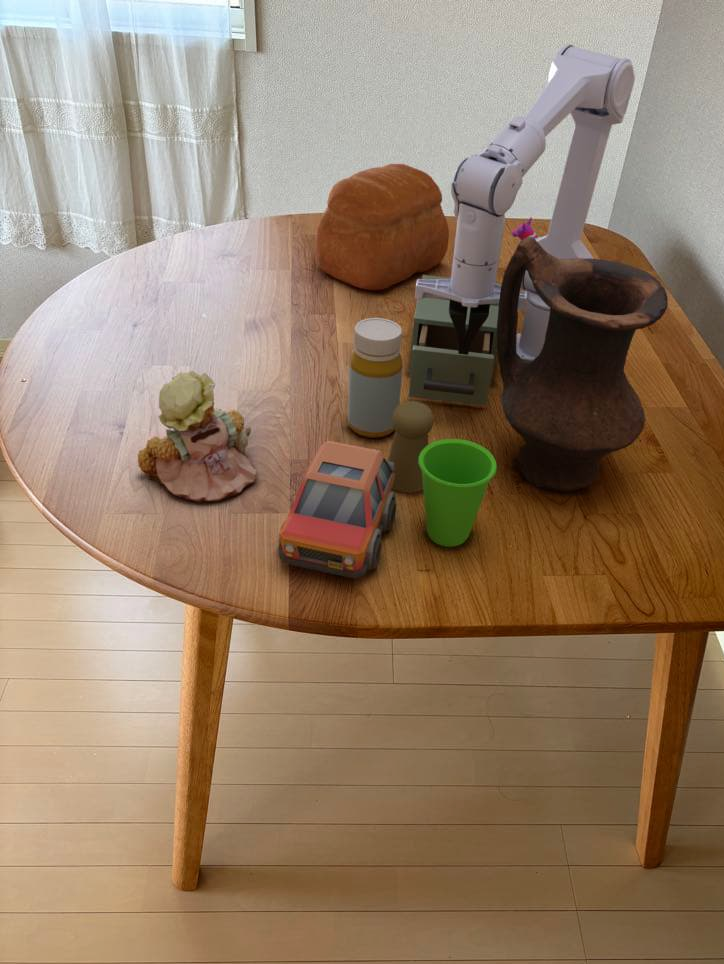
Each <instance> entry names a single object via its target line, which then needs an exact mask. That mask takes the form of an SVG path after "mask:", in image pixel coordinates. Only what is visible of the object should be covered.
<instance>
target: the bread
mask: <svg viewBox="0 0 724 964" xmlns="http://www.w3.org/2000/svg"><path fill="white" fill-rule="evenodd" d="M442 202H443V194H442V191H441V189H440V186H439V185H438V184H437V183H436V182H435V180H434V179H433V177H432V176H430V174H428V173H427V172H425V171H423V170H421V169H418V168H415V167H413V166H410V165H407V164H404V163H390V164H389V163H388V164H385V165H384V166H383V165H382V166H377V167H371V168H367V169H365V170H361V171H358V172H356V173H354V174H352V175H350V176H349V177H347V178H344V179H341V180H339V181H337V182H336V183H335V184H333V186H332V188H331V189H330V191H329V193H328V197H327V201H326V204H327V207H326V209H325V210H324V212H323V213H322V215H321V217H320V219H319V221H318V222H317V226H316V231H315V238H314V242H315V256H316V259H317V263H318V266H319V268H320V269H321V270H322V271H323V272H324V273H326V274H328V275H329V276H331V277H333V278H334V279H337V280H339V281H341V282H343V283H346V284H348V285H350V286H353V287H356V288H358V289H363V290H368V291H382V290H385V289H387V288H389V287H391V286H393V285H396V284H398V283H400V282H403V281H406V280H408V279H409V278H411V277H412V276H413V275H414V274H416V273H417V274H418V273H424V272H427V271H429V270H430V269H432V268H434V267H435V266H437V265H438V264H440V263H441V262H442V261H443V260H444V258H445V256H446V254H447V251H448V247H449V237H450V228H449V224H448V220H447V218H446V215H445V214H444V211H443V208H442V205H441V203H442Z"/></svg>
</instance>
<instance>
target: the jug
mask: <svg viewBox="0 0 724 964" xmlns="http://www.w3.org/2000/svg"><path fill="white" fill-rule="evenodd" d="M525 270H527V271H528V274H529V277H530V279H531V280H532V283H533V286H534V288H535V290H536V292H537V293H538V295H539V297H540V298H541V299H542V300H543V301H544V302H545V303H546V304H547V306H548V307H550V315H549V321H548V326H547V330H546V334H545V342H544V345H543V348H542V350H541V352H540V354H539V355H538V356H537V357H536V358H535V359H534V360H533V361H527V360H522V359H521V358H520V356H519V355H518V354H517V353H516V336H517V328H518V321H519V320H518V319H519V311H517V309H518V301H519V295H520V291H521V289H522V288H521V284H522V279H523V275H524V271H525ZM501 284H502V285H501V291H500V299H499V309H498V319H497V351H496V358H497V362H498V368H499V373H500V377H501V382H502V392H501V406H502V411H503V415H504V417H505V419H506V421H507V422H508V424H509V425H510V427H511V428H512V430H514V431H515V432H516V433H517V435H519V436H520V437H521V439H522V440H523V441H524V442H525V443H524V444H523V445H522V446H521V448H520V449H519V452H518V454H517V466H518V468H519V470H520V471H521V472H522V474H524V476H525V477H524V478H526V480H528V481H529V482H530V483H532V484H534V485H535V486H537V487H538V488H539V487H540V488H542V489H544V490H545V489H546V490H549V491H552V492H553V491H554V492H563V493H564V492H565V493H566V492H567V493H568V492H573V491H580V490H583V489H586V488H588V487H589V486H590V485H591V484H592V483H594V482H595V481H596V479H597V478H598V475H599V474H600V467H601V466H600V462H599V461H600V460H601V459H602V458H604V457H607V455H609V454H612V453H614V452H617V451H619V450H622V449H623V450H624V449H626V448H627V447H629V446H631V445H632V444H633V443H635V441H636V440H637V439H638V438H639V437H640V435H641V434H642V432H643V431H644V429H645V425H646V416H645V415H646V414H645V410H644V407H643V405H642V402H641V399H640V397H639V395H638V394H637V392H636V390H635V389H634V387H633V386H632V384H631V383H630V382H629V380H628V377H627V376H626V372H625V366H626V363H627V357H628V353H629V349H630V346H631V343H632V341H633V338H634V336H635V333H636V330H641V329H645V328H648V327H650V326H653V325H654V324H655V323H657V321H659V320H660V319H662V317H663V316H664V315H665V313H666V310H667V309H668V304H669V303H668V301H669V300H668V294H667V290H666V288H665V287H664V286H663V285H662V283H661V282H660V281H659V280H658V279H657V278H656V277H654V276H653V275H652V274H650V273H649V272H647V271H645V270H643V269H641V268H638V267H635V266H633V265H630V264H626V263H623V262H619V261H615V260H614V261H613V260H609V259H601V258H593V259H585V258H574V259H558V258H556V257H554V256H552V255H550V254H548V253H547V252H546V251H545V250H544V249H543V248H542V247H541V246H540V244H539V243H538V242H537V241H536V240H535V239H534V238H533V237H527V238H524V239H522V240H521V239H520V242H519V243H518V245H517V246H516V249H515V251H514V253H513V254H512V255H511V257H510V260H509V262H508V264H507V266H506V269H505V271H504V272H503V277H502V282H501Z"/></svg>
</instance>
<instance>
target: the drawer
mask: <svg viewBox="0 0 724 964" xmlns="http://www.w3.org/2000/svg"><path fill="white" fill-rule="evenodd" d="M466 332H467V329H465V337H466ZM489 345H490V332H487V331H478V332H477V334H476V336H475V338H474V340H473V342H472V344H471V347H470V349H469V353H468V355H465V354H458V340H457V335H456V331H455V328H453V327H444V326H436V325H427V324H423V325H422V330H421V336H420V341H419V346H413V353H412V364H411V375H409V376H410V377H409V387H408V397H410V398H416V399H417V398H418V399H424V400H425V399H426V400H434V401H443V402H451V403H458V404H468V405H474V406H475V405H477V406H483V407H484V406H485V407H486V406H487V404H488V399H489V398H488V397H489V392H490V386H491V385H490V380H491V373H492V367H493V361H494V355H491V354H489Z"/></svg>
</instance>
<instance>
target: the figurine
mask: <svg viewBox="0 0 724 964" xmlns="http://www.w3.org/2000/svg"><path fill="white" fill-rule="evenodd" d="M215 386H216V382H215V381H214V380H213V378H211V377H210V376H209V375H208V374H207V373H206V372H203V373H202V374H201V375H200V374H199V373H197V372H196V371H194V370H191V371H188V372H179V373H177V374H176V375H174V376H173V377H172V380H171V381H169V382H166V383H163V385H162V387H161V389H160V390H159V397H158V408H159V410H160V412H161V414H160V415H158V416H157V417H158V419H159V420H160V423H161V424H162V425H163V426H164V427H166V428H167V429H165V434H166V435H165V436H163V437H161V438H160V437H159V436H154V437H151V438H150V439H147V442H146V445H145V447H144V448H143V449H139V451H138V454H137V463H138V465H137V466H138V467H139V469H140V470H141V472H142V473H144V475H146V476H147V477H149V478H151V479H153V480H154V481H156V482H158V483H159V484H161V485H163V486H164V487H166V489H167V490H168V491H169V492H171V493H172V494H173V496H176V497H179V498H183V499H186V500H190V501H193V502H199V503H205V502H220V501H222V500H225V499H228V498H230V497H233V496H236V495H240V493H242V492H243V491H245V490H246V489H247V488H249V487H250V486H252V485H253V484H254V483H255V480H256V478H257V472H258V470H256V469H255V468H254V467H253V466H252V464H251V462H250V460H249V459H248V458H247V455H246V451H245V450H246V448H247V447H248V443H249V438H250V435H251V432H252V428H251V427H245V426H244V425H245V417H244V416H243V415H242V414H241V413H240V411H238V410H235V409H231V410H229V411H225V410H222V409H221V408H217V407H216V408H215V394H214V389H215V388H216V387H215Z"/></svg>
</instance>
